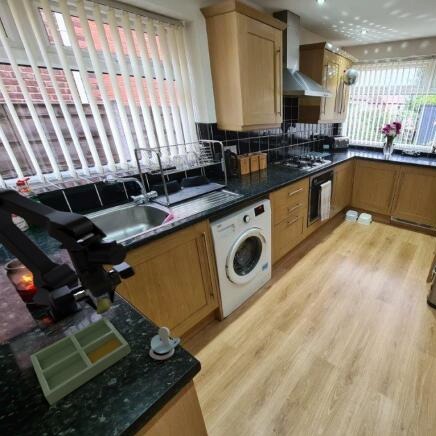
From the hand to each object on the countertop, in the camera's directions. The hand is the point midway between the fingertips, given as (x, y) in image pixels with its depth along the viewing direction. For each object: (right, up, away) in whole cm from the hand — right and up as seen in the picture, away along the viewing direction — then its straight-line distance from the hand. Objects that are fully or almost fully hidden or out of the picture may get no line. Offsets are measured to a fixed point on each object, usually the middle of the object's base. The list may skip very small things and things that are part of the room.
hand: (104, 306), depth 72 cm
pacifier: (+23, -8, -10) cm, 27 cm away
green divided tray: (+4, -8, -12) cm, 15 cm away
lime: (0, -1, 0) cm, 1 cm away
